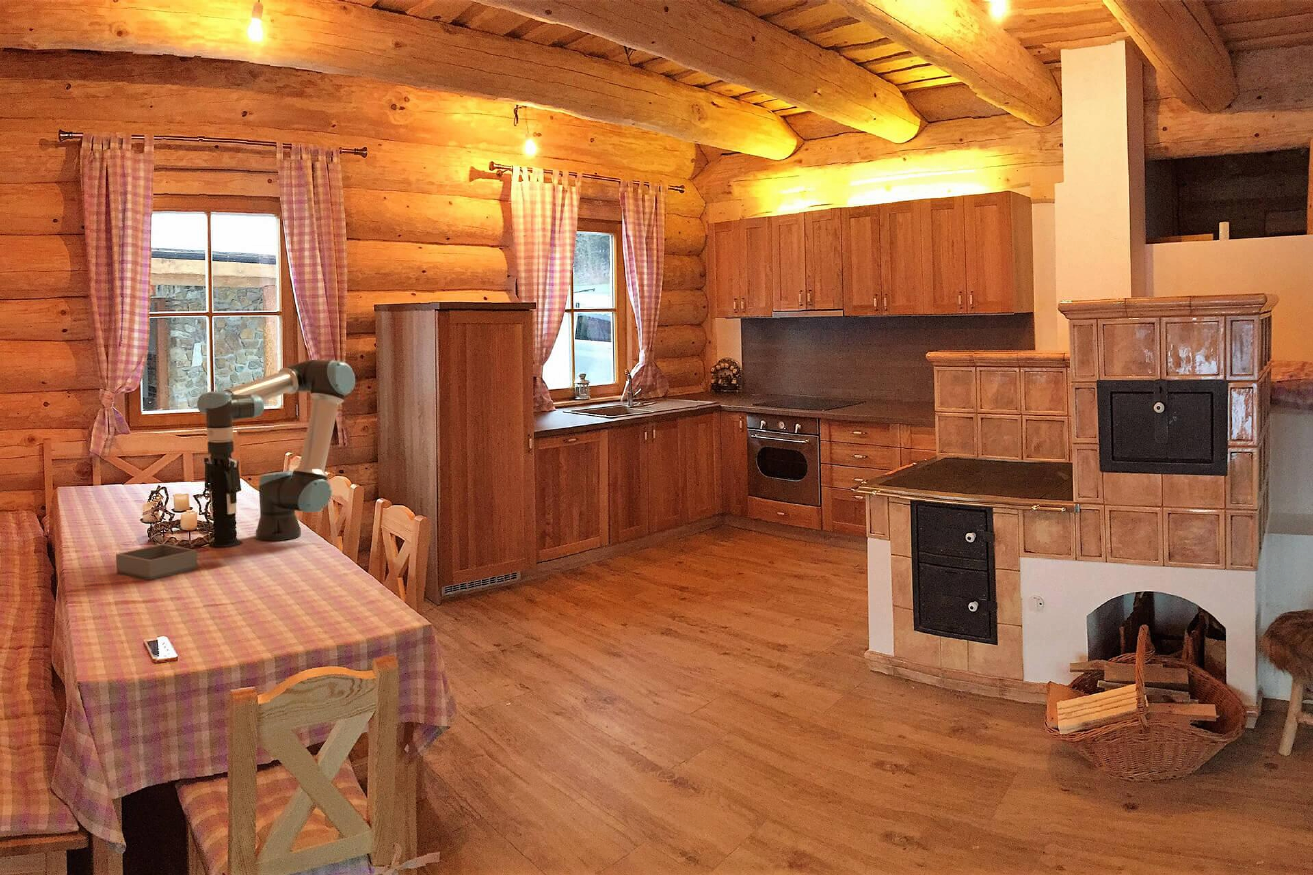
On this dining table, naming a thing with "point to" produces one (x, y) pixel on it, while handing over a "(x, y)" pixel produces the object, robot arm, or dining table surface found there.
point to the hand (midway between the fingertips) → (224, 511)
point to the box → (156, 562)
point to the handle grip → (222, 511)
